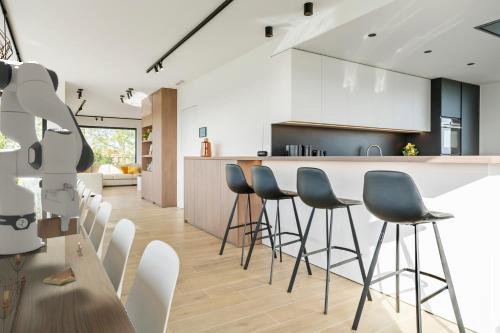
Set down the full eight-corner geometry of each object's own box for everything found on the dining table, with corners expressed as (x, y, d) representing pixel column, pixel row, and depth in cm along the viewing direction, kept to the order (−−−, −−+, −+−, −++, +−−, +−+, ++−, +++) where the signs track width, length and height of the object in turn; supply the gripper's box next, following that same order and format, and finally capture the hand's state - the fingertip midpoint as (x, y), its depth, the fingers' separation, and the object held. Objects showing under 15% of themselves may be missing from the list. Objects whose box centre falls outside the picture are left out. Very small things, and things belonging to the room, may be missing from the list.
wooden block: (37, 219, 94) (73, 215, 102) (37, 236, 95) (73, 231, 102) (43, 221, 91) (80, 217, 99) (42, 239, 91) (80, 233, 99)
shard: (70, 271, 104) (71, 266, 104) (91, 274, 103) (91, 268, 102) (42, 284, 94) (42, 278, 94) (64, 287, 92) (64, 281, 92)
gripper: (85, 184, 92) (85, 232, 92) (59, 181, 106) (59, 223, 106) (61, 185, 87) (61, 236, 88) (36, 181, 101) (36, 226, 101)
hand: (59, 229), depth 97 cm, fingers closed on wooden block, 5 cm apart
